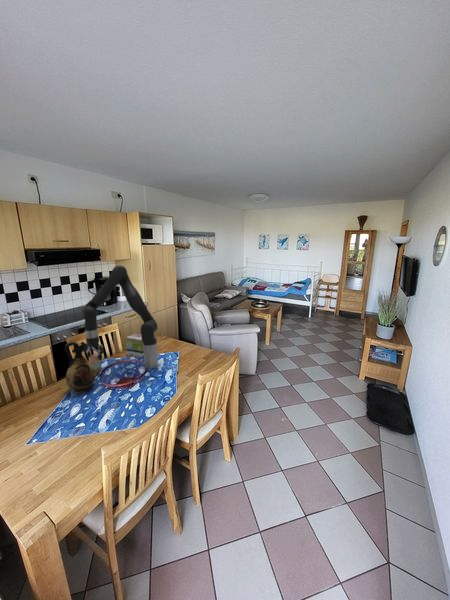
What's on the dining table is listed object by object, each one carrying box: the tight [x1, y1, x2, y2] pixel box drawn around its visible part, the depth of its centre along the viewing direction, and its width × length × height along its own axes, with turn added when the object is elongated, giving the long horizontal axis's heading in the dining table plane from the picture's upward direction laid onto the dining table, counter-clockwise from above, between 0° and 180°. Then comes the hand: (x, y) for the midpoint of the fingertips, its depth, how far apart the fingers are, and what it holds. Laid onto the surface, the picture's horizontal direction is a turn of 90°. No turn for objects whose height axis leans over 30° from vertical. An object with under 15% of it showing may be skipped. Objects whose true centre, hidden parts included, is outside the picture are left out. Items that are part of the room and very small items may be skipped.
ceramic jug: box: [64, 341, 97, 394], centre depth 143 cm, size 17×15×30 cm
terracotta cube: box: [88, 353, 102, 364], centre depth 162 cm, size 4×4×4 cm
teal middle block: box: [91, 361, 102, 369], centre depth 163 cm, size 5×5×4 cm
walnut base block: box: [95, 366, 102, 375], centre depth 164 cm, size 6×6×4 cm
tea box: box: [125, 333, 144, 358], centre depth 192 cm, size 15×10×15 cm, turn 73°
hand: (94, 358), depth 162 cm, fingers open, 8 cm apart
